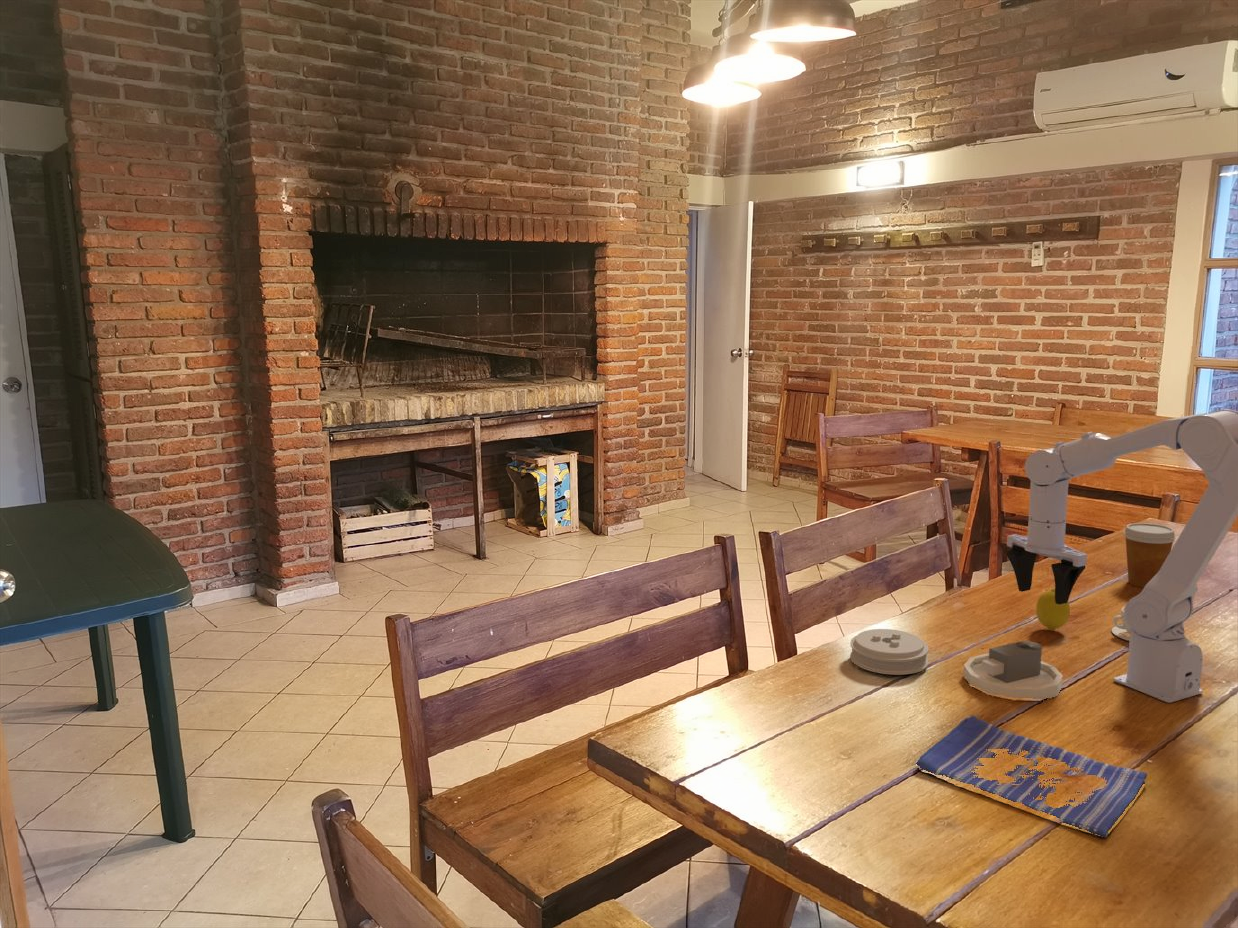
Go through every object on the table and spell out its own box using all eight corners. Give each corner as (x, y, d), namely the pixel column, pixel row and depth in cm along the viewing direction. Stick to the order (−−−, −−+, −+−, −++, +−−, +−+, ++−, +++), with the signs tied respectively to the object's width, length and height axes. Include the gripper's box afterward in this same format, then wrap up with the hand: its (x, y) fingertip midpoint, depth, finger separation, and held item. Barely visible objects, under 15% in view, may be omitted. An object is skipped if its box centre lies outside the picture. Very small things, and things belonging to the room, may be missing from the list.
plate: (1080, 689, 143) (1081, 677, 142) (1014, 708, 137) (1015, 695, 137) (1009, 659, 155) (1009, 647, 155) (946, 674, 150) (946, 663, 149)
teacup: (1159, 627, 168) (1161, 602, 167) (1185, 647, 158) (1188, 622, 158) (1102, 626, 169) (1103, 602, 169) (1124, 646, 160) (1126, 621, 159)
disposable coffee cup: (1125, 589, 189) (1129, 532, 187) (1115, 575, 198) (1119, 521, 196) (1177, 592, 186) (1182, 535, 184) (1164, 578, 195) (1169, 523, 193)
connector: (1045, 673, 146) (1047, 647, 145) (996, 686, 142) (997, 659, 141) (1026, 665, 150) (1028, 639, 149) (977, 677, 146) (978, 650, 145)
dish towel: (967, 729, 132) (968, 710, 132) (1150, 787, 116) (1152, 766, 115) (910, 774, 120) (911, 754, 120) (1105, 846, 104) (1107, 823, 103)
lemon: (1064, 638, 164) (1067, 595, 162) (1031, 632, 167) (1034, 590, 165) (1071, 629, 168) (1074, 587, 166) (1039, 623, 171) (1041, 582, 170)
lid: (899, 687, 146) (900, 657, 145) (834, 664, 156) (835, 636, 155) (943, 665, 154) (944, 637, 153) (878, 644, 164) (879, 618, 163)
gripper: (995, 513, 159) (991, 588, 161) (1067, 531, 146) (1061, 613, 148) (1025, 508, 162) (1021, 582, 164) (1098, 526, 148) (1092, 606, 151)
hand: (1042, 596), depth 156 cm, fingers open, 7 cm apart
